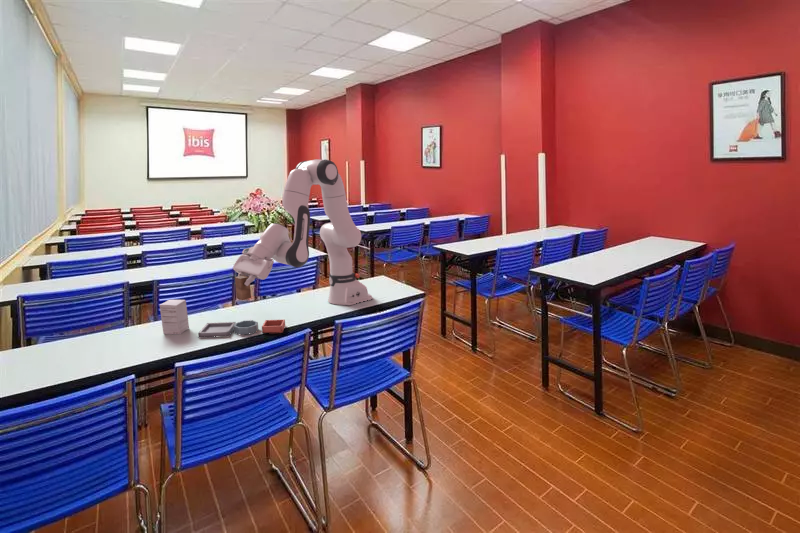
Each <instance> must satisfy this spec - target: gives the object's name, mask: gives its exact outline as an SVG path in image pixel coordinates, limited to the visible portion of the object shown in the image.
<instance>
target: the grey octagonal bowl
mask: <svg viewBox="0 0 800 533" xmlns="http://www.w3.org/2000/svg"><path fill="white" fill-rule="evenodd" d="M258 330H259V322H258V321H256V320H251V319H250V320H249V319H247V320H241V321H238V322H236V324H235V325H234V330H233V333H234V332H235V333H234V334H236V333H237V334H236V335H238V334H249V333H252V334H254V333H253V332H255V333H257V332H258ZM256 331H257V332H256ZM249 335H250V334H249Z"/></svg>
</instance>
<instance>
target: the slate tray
mask: <svg viewBox="0 0 800 533" xmlns="http://www.w3.org/2000/svg"><path fill="white" fill-rule="evenodd" d="M236 323H237V322H236V321H228V322H227V321H225V322H207V323H206V324H204V326H203V327H202V328H201V330H200V331H199V332H198V333H197V334H198V335H197V336H198V338H199V337H207V338H217V337H216V336H229V337H230V335H231V334H232V333H233V332H234V325H235V324H236ZM231 332H232V333H231ZM230 333H231V334H230ZM214 336H215V337H214Z"/></svg>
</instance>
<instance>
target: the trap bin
mask: <svg viewBox="0 0 800 533" xmlns="http://www.w3.org/2000/svg"><path fill="white" fill-rule="evenodd" d="M284 327H286V319H265V320H264V322H263V324H262V326H261V332H262V333H269V334H282V333H284V330H285V328H284ZM262 333H261V334H262Z"/></svg>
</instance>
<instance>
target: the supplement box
mask: <svg viewBox="0 0 800 533" xmlns="http://www.w3.org/2000/svg"><path fill="white" fill-rule="evenodd" d="M159 311H160V317H161V325H162V334H164V335H181V334H183V333H184V332H185V331H187V330H188V329H190V324H189V317H188V307H187V300H186V299H168V300H166V301H165V302H163V303H160V304H159Z"/></svg>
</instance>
